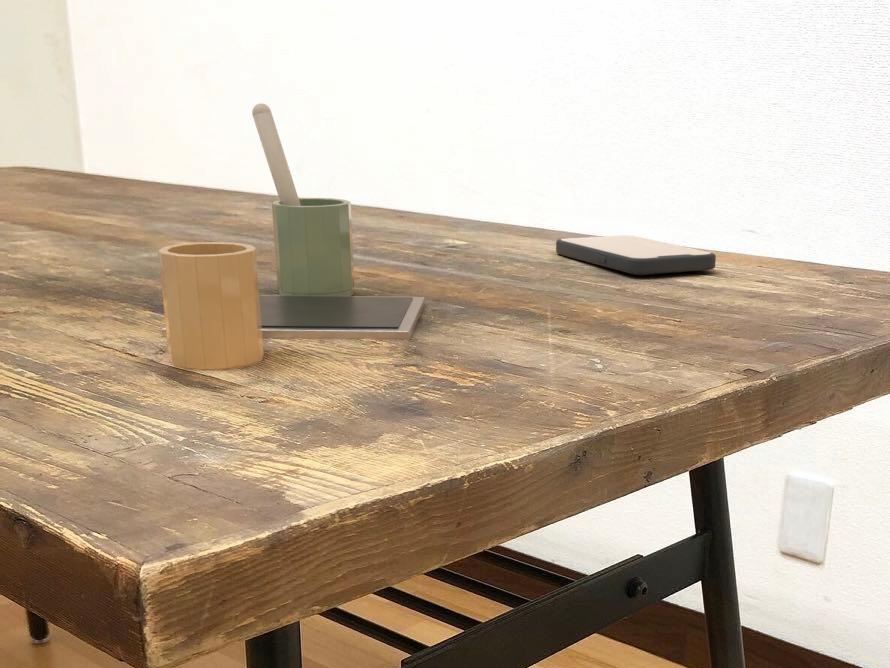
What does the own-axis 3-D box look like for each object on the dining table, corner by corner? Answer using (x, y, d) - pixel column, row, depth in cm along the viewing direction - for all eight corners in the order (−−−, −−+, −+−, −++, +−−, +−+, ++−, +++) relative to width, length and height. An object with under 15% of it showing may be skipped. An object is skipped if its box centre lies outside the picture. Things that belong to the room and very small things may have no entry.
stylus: (307, 291, 96) (247, 106, 91) (310, 288, 97) (251, 106, 93) (324, 286, 96) (265, 101, 91) (327, 283, 97) (269, 101, 92)
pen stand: (159, 377, 72) (146, 255, 69) (184, 355, 77) (173, 241, 74) (252, 378, 72) (243, 256, 69) (271, 356, 77) (263, 242, 74)
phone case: (550, 255, 118) (633, 279, 104) (550, 238, 117) (634, 259, 104) (631, 250, 121) (721, 272, 108) (631, 234, 121) (722, 253, 107)
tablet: (162, 343, 80) (160, 327, 79) (208, 308, 91) (206, 293, 91) (409, 346, 80) (409, 329, 80) (425, 310, 91) (424, 295, 91)
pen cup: (272, 300, 94) (265, 206, 91) (286, 287, 99) (280, 197, 97) (348, 301, 94) (343, 207, 91) (358, 287, 99) (354, 198, 97)
